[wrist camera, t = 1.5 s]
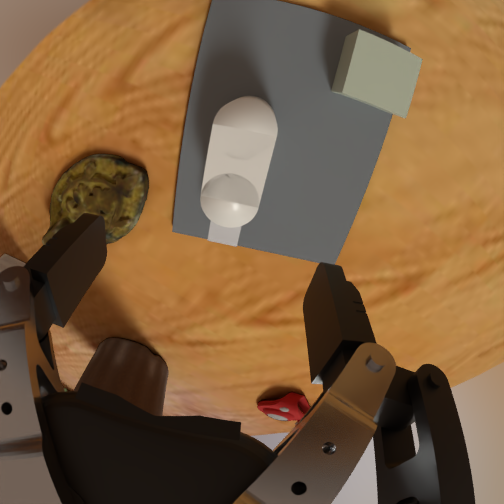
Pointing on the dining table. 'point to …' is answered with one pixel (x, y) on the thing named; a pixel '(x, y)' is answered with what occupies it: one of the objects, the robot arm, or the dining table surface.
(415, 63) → the block
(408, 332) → the dining table surface
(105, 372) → the plant pot
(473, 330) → the dining table surface
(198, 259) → the dining table surface
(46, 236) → the olive teardrop lump
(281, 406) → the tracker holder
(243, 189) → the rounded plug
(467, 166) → the dining table surface
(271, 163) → the mat
